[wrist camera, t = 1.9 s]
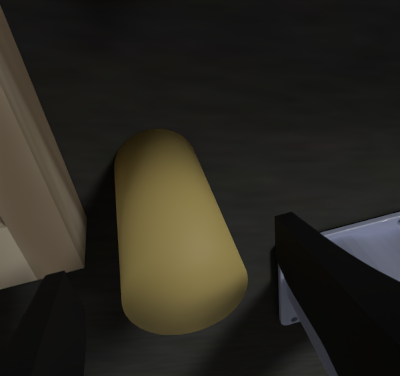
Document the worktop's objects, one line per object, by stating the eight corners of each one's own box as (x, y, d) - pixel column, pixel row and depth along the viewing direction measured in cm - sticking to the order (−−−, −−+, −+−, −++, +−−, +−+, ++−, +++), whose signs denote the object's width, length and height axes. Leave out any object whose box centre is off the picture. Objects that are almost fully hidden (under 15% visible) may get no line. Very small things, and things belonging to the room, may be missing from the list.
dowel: (189, 120, 17) (243, 230, 11) (201, 190, 20) (251, 316, 13) (103, 139, 17) (105, 266, 10) (125, 208, 19) (138, 347, 13)
